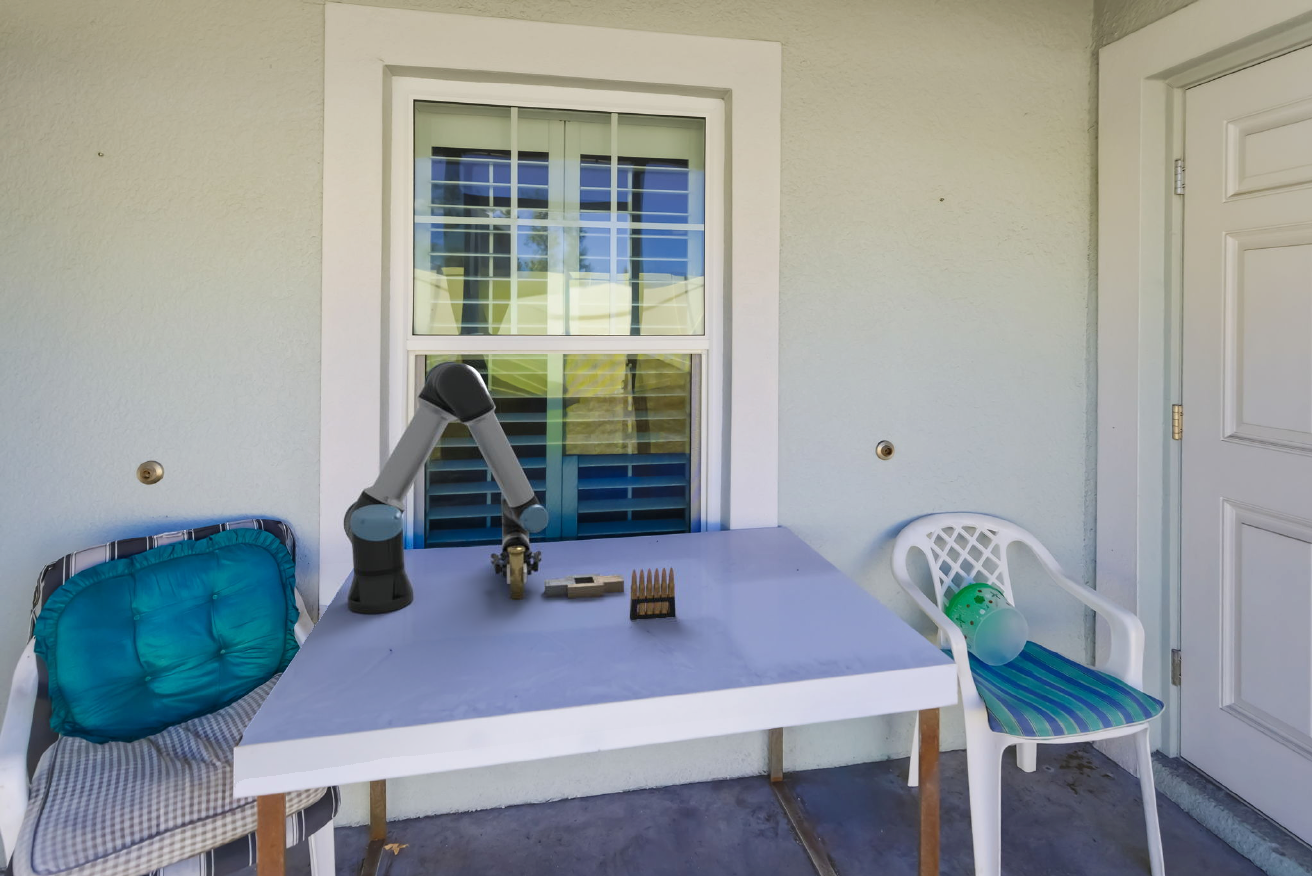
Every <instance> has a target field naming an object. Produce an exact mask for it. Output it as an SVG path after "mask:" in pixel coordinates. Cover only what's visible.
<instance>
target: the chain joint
mask: <svg viewBox="0 0 1312 876" xmlns="http://www.w3.org/2000/svg"><path fill="white" fill-rule="evenodd" d="M615 592H617V593H625V580H624V578H623V577H622V575H621V574H615V575H612V574H611V575H601V574H600V573H589V574H587V573H586V574H575V575H565V578H563V577H562V578H554V579H553V578H552V579H551V578H550V579H544V595H545V598H557V597H567V598H568V600H570V599H582V598H586V599H587V598H597V597H598V598H599V597H604V596H605V594H612V593H613V594H615Z"/></svg>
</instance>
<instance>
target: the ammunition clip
mask: <svg viewBox="0 0 1312 876" xmlns="http://www.w3.org/2000/svg"><path fill="white" fill-rule="evenodd" d="M668 573H669V574H668V579H667V570H666V568H665V567H663V568H662V572H661V579H660V573H659V569H658V568H657V567H656V568H655V570H654V575H652V571H651V568H650V567H649V568H648V570H647V575H646V583H645V572H644V570H643V568H641V569H640V572H639V575H638V574H637V571H636V570H635V569H634V568H633V570H632V573H631V586H630V604H629V605H630V607H629V620H631V621H638V620H637V619H644V620H653V619H654V618H655V619H654V620H656V618H659V619H667V618H666V617H674V618H676V617H677V614H676V612H677V611H676V597H675V596H676V592H675V590H676V589H675V586H676V584H675V576H674V575H675V574H674V569H673V567H672V566H671V567H670V568H669V572H668ZM637 575H638V576H639V578H638V577H637ZM653 577H654V579H653ZM638 579H639V580H638ZM667 580H668V581H667Z"/></svg>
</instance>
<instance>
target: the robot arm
mask: <svg viewBox="0 0 1312 876" xmlns="http://www.w3.org/2000/svg"><path fill="white" fill-rule="evenodd" d="M417 401H418V409H416V412H415V413H414V415H413V417H412V418H411V420H410V422H409V423H408V425H407V427H406V429H405V430H404V432H403V433H402V435H401V437H400V439H399V440H398V442H397V444H396V446H395V448H394V449H393V451H392V453H391V454H390V456H389V458H388V460H387V461H386V463H385V464H384V465H383V467H382V469H381V471H380V473H379V474H378V476H377V477H376V479H375V482H373V485H371V486H369V487H365V488H363V490H362V492H361V494H360V495H359V496H358V498H357V500H356V501H354V502H353V503H352V504H351V505H350V506H349V507H348V509H347V510H346V512H345V514H344V517H343V530H344V532H345V535H346V537H347V538H348V540H349V541H350V543H351V549H352V562H353V563H352V564H353V565H352V566H353V577H352V581H351V585H350V588H349V591H348V595H347V608H348V609H349V611H352V612H354V613H358V614H365V615H367V614H368V615H369V614H381V613H388V612H392V611H397V610H400V609H402V608H405V607H407V606H408V605H410V604H411V603H413V601H414V597H415V596H414V589H413V586H412V583H411V582H410V579H409V577H408V574H407V572H406V568H405V548H404V520H403V514H404V512H405V510H406V505H405V503H404V500H405V498H406V497H407V495H408V493H409V492H410V489H411V488H412V486H413V485H414V483H415V481H416V480H417V478H418V476H419V475H420V473H421V471H422V469H423V467H424V466H425V464H426V462H427V460H428V459H429V457H430V455H431V454H432V452H433V451H434V449H435V446H436V445H437V443H438V441H439V440H440V438H441V436H442V435H443V433H444V431H445V429H446V428H447V426H448V424H449V423H450V422H453V421H457V420H459V421H460V423H461V424H462V425H465V426H466V427H467V428H468V429H469V432H470V434H471V436H472V437H473V440H474V441H475V443H476V445H477V447H478V450H479V452H480V453H481V455H482V456H483V459H484V460H485V462H486V464H487V466H488V469H489V470H490V472H491V474H492V476H493V478H494V480H495V482H496V483H497V485H498V487H499V489H500V491H501V495H500V501H501V502H500V503H501V505H500V506H501V530H502V531H501V533H502V535H501V536H502V538H501V541H502V544H501V546H502V547H501V552H500V554H498V553H497V554H496V553H491V554H490V563H491V564H492V565H493V567H494V573H495V575H499V574H501V575H502V576H501V577H503V578H506V584H508V585H510V554H509V553H508V548H509V547H511V546H523V547H525V552H523V561H524V565H523V569H524V584H525V583H526V584H527V583H528V576H531V575H532V572H534V573H536V572H538V571H539V566H540V563H541V562H542V551H540V550H538V551H535V552H533V551H531V547H530V533H533V534H534V533H540V532H541V531H543V530H544V529H545V528H546V527H547V525H548V523H549V519H550V518H549V513H548V511H547V509H546V508H545V507H544V506H543V505H541V504H540V502H539V499H538V498H537V496H536V494H535V492H534V490H533V488H532V486H531V483H530V481H529V480H528V478H527V476H526V474H525V472H524V470H523V468H522V466H521V464H520V462H519V460H518V458H517V456H516V453H515V452H514V449H513V448H512V446H511V444H510V442H509V439H508V438H507V435H506V434H505V432H504V430H503V428H502V426H501V423H500V422H499V419H498V418H497V415H496V413H495V410H496V407H497V406H496V404H495V403H494V400H493V399H492V396H491V394H490V393H489V390H488V388H487V385H486V384H485V382H484V379H483V378H482V376H481V374H480V372H478V371H477V370H476V368H474V367H472V366H471V365H468V364H466V363H461V362H459V363H458V362H456V361H443V362H440V363H438V364H436V365H434V366H433V367H431V369H430V370H429V371H428V373H427V374H426V377H425V379H424V386H423V388H422V389H421V391H420V393H419V394H418V396H417ZM532 560H533V562H532ZM500 561H502V563H500Z"/></svg>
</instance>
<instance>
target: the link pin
mask: <svg viewBox="0 0 1312 876" xmlns="http://www.w3.org/2000/svg"><path fill="white" fill-rule="evenodd" d="M523 552H525V547H523V546H511V547H509V548H508V553H509V554H510V584H509V587H510V599H511V600H515V601H518V600H522V599H524V598H525V583H524V569H523V565H524V561H523Z"/></svg>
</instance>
